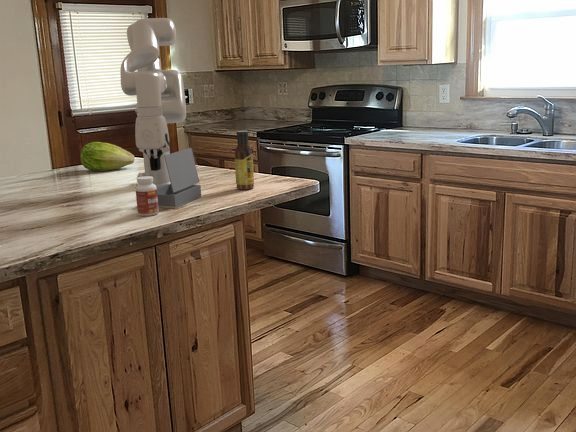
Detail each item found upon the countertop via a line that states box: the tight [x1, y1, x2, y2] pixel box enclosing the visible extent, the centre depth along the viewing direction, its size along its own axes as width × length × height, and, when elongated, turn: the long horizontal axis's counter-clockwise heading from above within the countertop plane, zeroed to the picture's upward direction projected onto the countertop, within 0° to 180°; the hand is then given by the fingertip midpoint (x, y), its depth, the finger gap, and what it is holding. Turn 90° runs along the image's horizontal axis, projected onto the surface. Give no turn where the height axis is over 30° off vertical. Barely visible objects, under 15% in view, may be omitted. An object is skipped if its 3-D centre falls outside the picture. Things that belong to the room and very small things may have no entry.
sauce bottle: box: [234, 130, 255, 191], centre depth 212 cm, size 6×6×20 cm
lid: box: [164, 147, 200, 193], centre depth 195 cm, size 12×16×1 cm
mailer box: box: [157, 184, 202, 209], centre depth 199 cm, size 12×16×4 cm
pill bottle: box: [135, 176, 160, 217], centre depth 183 cm, size 6×6×11 cm
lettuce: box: [80, 141, 136, 172], centre depth 261 cm, size 13×22×14 cm
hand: (155, 169), depth 198 cm, fingers closed
